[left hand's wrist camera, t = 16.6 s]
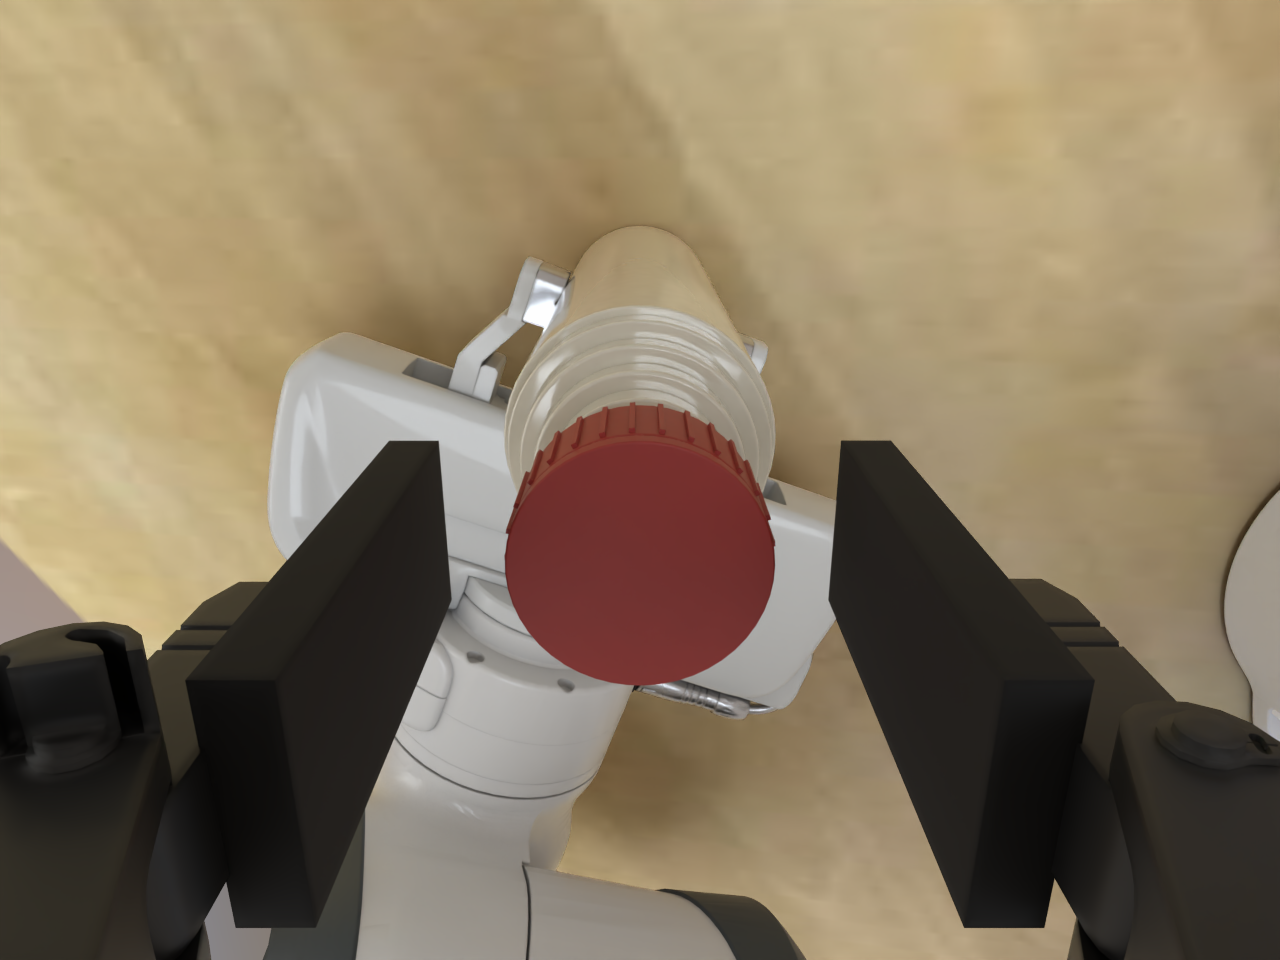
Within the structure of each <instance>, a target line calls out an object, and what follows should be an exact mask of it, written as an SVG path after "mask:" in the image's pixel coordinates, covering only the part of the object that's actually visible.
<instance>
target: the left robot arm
mask: <svg viewBox="0 0 1280 960" xmlns="http://www.w3.org/2000/svg"><path fill="white" fill-rule="evenodd" d="M451 601H452V596H451V584H450V572H449V560H448V547H447V535H446V523H445V511H444V498H443V486H442V474H441V462H440V450H439V441H388V443H387V444H386V445H385V446H384V447H383V448H382V450H381V451H380V452H379V453H378V454H377V455H376V457H375V458H374V459H373V460H372V461H371V463H370V464H369V465H368V466H367V467H366V468H365V470H364V471H363V472H362V473H361V474H360V475H359V477H358V478H357V479H356V480H355V481H354V482H353V484H352V485H351V486H350V487H349V488H348V490H347V491H346V492H345V493H344V494H343V495H342V497H341V498H340V499H339V500H338V501H337V502H336V504H335V505H334V506H333V507H332V508H331V509H330V511H329V512H328V513H327V514H326V515H325V517H324V518H323V519H322V520H321V521H320V522H319V524H318V525H317V526H316V527H315V528H314V529H313V531H312V532H311V533H310V534H309V535H308V536H307V538H306V539H305V540H304V541H303V542H302V544H301V545H300V546H299V547H298V548H297V549H296V551H295V552H294V553H293V554H292V555H291V556H290V558H289V559H288V560H287V561H286V562H285V563H284V565H283V566H282V567H281V568H280V569H279V571H278V572H277V573H276V574H275V575H274V576H273V578H272V579H271V580H270V581H269V582H238V583H237V584H235V585H233V586H231V587H229V588H228V589H226V590H224V591H222V592H220V593H219V594H217V595H215V596H213V597H211V598H210V599H208V600H206V601H204V602H203V603H202V604H201V605H200V606H199V607H198V608H197V609H196V610H195V611H194V612H193V613H192V614H191V615H190V616H189V617H188V618H187V620H186V621H185V622H184V623H183V624H182V625H181V630H176V631H175V632H174V633H173V634H172V635H171V636H170V637H169V638H168V639H167V640H166V641H165V642H164V644H163V645H162V650H157V651H156V652H155V653H154V654H153V655H152V656H151V657H150V658H149V659H148V660H147V658H146V654H145V649H144V644H143V640H142V635H141V634H139V633H138V632H136V631H135V630H133V629H132V628H130V627H129V626H127V625H121V624H115V623H109V622H89V623H72V624H68V625H63V626H58V627H54V628H48V629H44V630H39V631H36V632H33V633H31V634H27V635H25V636H22V637H19V638H16V639H13V640H11V641H8V642H5V643H3V644H1V645H0V960H211V955H210V947H209V940H208V935H207V931H206V926H205V922H204V920H205V918H206V916H207V915H208V913H209V911H210V909H211V907H212V906H213V904H214V902H215V900H216V899H217V897H218V895H219V893H220V891H221V890H222V888H223V886H224V884H225V883H227V888H228V892H229V897H230V902H231V907H232V912H233V917H234V922H235V927H236V928H316V926H317V924H318V921H319V919H320V916H321V914H322V912H323V909H324V907H325V904H326V902H327V900H328V897H329V895H330V892H331V890H332V887H333V885H334V883H335V880H336V878H337V875H338V873H339V871H340V868H341V866H342V863H343V861H344V859H345V856H346V854H347V851H348V849H349V846H350V844H351V842H352V839H353V837H354V834H355V832H356V830H357V827H358V825H359V822H360V820H361V818H362V815H363V813H364V810H365V808H366V806H367V803H368V801H369V798H370V796H371V793H372V791H373V789H374V786H375V784H376V781H377V779H378V777H379V774H380V772H381V769H382V767H383V765H384V762H385V760H386V757H387V755H388V752H389V750H390V748H391V745H392V743H393V740H394V738H395V736H396V733H397V731H398V728H399V726H400V724H401V721H402V719H403V716H404V714H405V712H406V709H407V707H408V704H409V702H410V699H411V697H412V695H413V692H414V690H415V687H416V685H417V683H418V680H419V678H420V675H421V673H422V671H423V668H424V666H425V663H426V661H427V658H428V656H429V654H430V651H431V649H432V646H433V644H434V642H435V639H436V637H437V634H438V632H439V630H440V627H441V625H442V622H443V620H444V617H445V615H446V613H447V610H448V608H449V605H450V603H451ZM828 601H829V603H830V605H831V608H832V610H833V613H834V615H835V617H836V620H837V622H838V625H839V627H840V630H841V632H842V634H843V637H844V639H845V642H846V644H847V646H848V649H849V651H850V654H851V656H852V658H853V661H854V663H855V666H856V668H857V671H858V673H859V675H860V678H861V680H862V683H863V685H864V687H865V690H866V692H867V695H868V697H869V699H870V702H871V704H872V707H873V709H874V712H875V714H876V716H877V719H878V721H879V724H880V726H881V728H882V731H883V733H884V736H885V738H886V740H887V743H888V745H889V748H890V750H891V752H892V755H893V757H894V760H895V762H896V765H897V767H898V769H899V772H900V774H901V777H902V779H903V781H904V784H905V786H906V789H907V791H908V793H909V796H910V798H911V801H912V803H913V806H914V808H915V810H916V813H917V815H918V818H919V820H920V822H921V825H922V827H923V830H924V832H925V834H926V837H927V839H928V842H929V844H930V846H931V849H932V851H933V854H934V856H935V859H936V861H937V863H938V866H939V868H940V871H941V873H942V875H943V878H944V880H945V883H946V885H947V887H948V890H949V892H950V895H951V897H952V900H953V902H954V904H955V907H956V909H957V912H958V914H959V916H960V919H961V921H962V924H963V926H964V928H1044V927H1045V922H1046V917H1047V912H1048V907H1049V902H1050V897H1051V893H1052V888H1053V883H1054V878H1055V880H1056V881H1057V883H1058V885H1059V887H1060V888H1061V890H1062V892H1063V894H1064V895H1065V897H1066V899H1067V901H1068V903H1069V904H1070V906H1071V908H1072V910H1073V911H1074V913H1075V915H1076V922H1075V926H1074V931H1073V935H1072V940H1071V945H1070V949H1069V954H1068V958H1067V960H1280V741H1278V740H1277V739H1275V738H1273V737H1272V736H1270V735H1269V734H1267V733H1266V732H1264V731H1263V730H1261V729H1260V728H1258V727H1257V726H1255V725H1254V724H1252V723H1249V722H1247V721H1245V720H1242V719H1240V718H1237V717H1235V716H1233V715H1230V714H1228V713H1226V712H1223V711H1221V710H1217V709H1213V708H1209V707H1205V706H1201V705H1197V704H1193V703H1189V702H1176V700H1175V699H1174V698H1173V697H1172V696H1171V695H1170V694H1169V693H1168V692H1167V691H1166V690H1165V689H1164V688H1163V687H1162V686H1161V685H1160V684H1159V683H1158V682H1157V681H1156V680H1155V679H1154V678H1153V677H1152V676H1151V675H1150V674H1149V673H1148V671H1147V670H1146V669H1145V668H1144V667H1143V666H1142V665H1141V664H1140V663H1139V662H1138V661H1137V660H1136V659H1135V658H1134V657H1133V656H1132V655H1131V654H1130V653H1129V652H1128V651H1127V650H1126V649H1125V648H1124V647H1119V641H1118V640H1117V639H1116V638H1115V637H1114V636H1113V635H1112V634H1111V633H1110V632H1109V631H1108V630H1107V629H1106V628H1105V627H1100V622H1099V621H1098V620H1097V619H1096V618H1095V617H1094V616H1093V615H1092V614H1091V613H1090V611H1089V610H1088V609H1087V608H1086V607H1085V606H1084V605H1083V604H1082V603H1081V602H1080V601H1079V600H1078V599H1077V598H1075V597H1073V596H1071V595H1069V594H1068V593H1066V592H1064V591H1062V590H1060V589H1059V588H1057V587H1055V586H1053V585H1051V584H1049V583H1048V582H1046V581H1044V580H1042V579H1008V578H1007V576H1006V575H1005V574H1004V573H1003V572H1002V571H1001V569H1000V568H999V567H998V566H997V565H996V563H995V562H994V561H993V560H992V559H991V558H990V556H989V555H988V554H987V553H986V552H985V551H984V549H983V548H982V547H981V546H980V545H979V544H978V542H977V541H976V540H975V539H974V538H973V536H972V535H971V534H970V533H969V532H968V531H967V529H966V528H965V527H964V526H963V525H962V524H961V522H960V521H959V520H958V519H957V518H956V517H955V515H954V514H953V513H952V512H951V511H950V509H949V508H948V507H947V506H946V505H945V504H944V502H943V501H942V500H941V499H940V498H939V497H938V495H937V494H936V493H935V492H934V491H933V490H932V488H931V487H930V486H929V485H928V484H927V482H926V481H925V480H924V479H923V478H922V477H921V475H920V474H919V473H918V472H917V471H916V470H915V468H914V467H913V466H912V465H911V464H910V463H909V461H908V460H907V459H906V458H905V457H904V455H903V454H902V453H901V452H900V451H899V450H898V448H897V447H896V446H895V445H894V444H893V443H892V441H841V450H840V462H839V474H838V486H837V498H836V511H835V523H834V535H833V547H832V560H831V572H830V584H829V596H828Z"/></svg>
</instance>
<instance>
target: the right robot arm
mask: <svg viewBox="0 0 1280 960" xmlns="http://www.w3.org/2000/svg"><path fill="white" fill-rule="evenodd" d="M570 275H571V271H568V270H565V269H563V268H560V267H558V266H555V265H553V264H550V263H547V262H545V261H544V262H543V260H540V259H537V258H534V257H531V256H529V257H528V258H527V259H526V260H525V262H524V265H523V267H522V270H521V272H520V275H519V278H518V281H517V285H516V288H515V291H514V294H513V297H512V301H511V304H510V306H509V307H508V308H507V309H506V310H504V311H503V312H502V313H501V314H500V315H499V316H498V317H497V318H495V319H494V320H493V321H492V322H491V323H490V324H489V325H488V326H486V327H485V328H484V329H483V330H482V331H481V332H480V333H479V334H477V335H476V336H475V337H474V338H473V339H472V340H471V341H470V342H469V343H468V344H467V345H466V346H465V347H464V348H463V350H462V351H461V352H460V353H459V354H458V357H457V360H456V363H455V367H454V368H453V367H450V366H447V365H444V364H441V363H438V362H436V361H433V360H430V359H427V358H424V357H421V356H418V355H415V354H412V353H410V352H407V351H404V350H401V349H398V348H395V347H392V346H389V345H386V344H383V343H381V342H378V341H375V340H372V339H369V338H366V337H364V336H361V335H358V334H355V333H351V332H341V333H338V334H336V335H334V336H332V337H330V338H327V339H325V340H323V341H321V342H319V343H317V344H315V345H314V346H312V347H310V348H309V349H308V350H306V351H305V352H304V353H302V354H301V355H300V356H298V358H297V359H296V360H295V361H294V362H293V363H292V364H291V366H290V367H289V369H288V371H287V374H286V376H285V379H284V382H283V386H282V391H281V395H280V399H279V404H278V410H277V415H276V421H275V427H274V434H273V441H272V449H271V458H270V468H269V482H268V499H267V511H268V521H269V527H270V531H271V534H272V537H273V540H274V542H275V544H276V546H277V548H278V550H279V551H280V553H281V554H282V555H283V557H284V558H285V559H286V560H288V559H289V558H290V556H291V555H292V554H293V553H294V552H295V551H296V549H297V548H298V547H299V546H300V545H301V544H302V542H303V541H304V540H305V539H306V538H307V536H308V535H309V534H310V533H311V532H312V531H313V529H314V528H315V527H316V526H317V525H318V524H319V522H320V521H321V520H322V519H323V518H324V517H325V515H326V514H327V513H328V512H329V511H330V509H331V508H332V507H333V506H334V505H335V504H336V502H337V501H338V500H339V499H340V498H341V497H342V495H343V494H344V493H345V492H346V491H347V490H348V488H349V487H350V486H351V485H352V484H353V482H354V481H355V480H356V479H357V478H358V477H359V475H360V474H361V473H362V472H363V471H364V470H365V468H366V467H367V466H368V465H369V464H370V463H371V461H372V460H373V459H374V458H375V457H376V455H377V454H378V453H379V452H380V451H381V450H382V448H383V447H384V446H385V445H386V444H387V443H388V441H439V450H440V462H441V474H442V486H443V498H444V511H445V523H446V535H447V547H448V560H449V572H450V584H451V596H452V601H451V603H450V605H449V608H448V610H447V613H446V615H445V617H444V620H443V622H442V625H441V627H440V630H439V632H438V634H437V637H436V639H435V642H434V644H433V646H432V649H431V651H430V654H429V656H428V658H427V661H426V663H425V666H424V668H423V671H422V673H421V675H420V678H419V680H418V683H417V685H416V687H415V690H414V692H413V695H412V697H411V699H410V702H409V704H408V707H407V709H406V712H405V714H404V716H403V719H402V721H401V724H400V726H399V728H398V731H397V733H396V736H395V738H394V740H393V743H392V745H391V748H390V750H389V752H388V755H387V757H386V760H385V762H384V765H383V767H382V769H381V772H380V774H379V777H378V779H377V781H376V784H375V786H374V789H373V791H372V793H371V796H370V798H369V801H368V803H367V806H366V808H365V810H364V813H363V815H362V818H361V820H360V822H359V825H358V827H357V830H356V832H355V834H354V837H353V839H352V842H351V844H350V846H349V849H348V851H347V854H346V856H345V859H344V861H343V863H342V866H341V868H340V871H339V873H338V875H337V878H336V880H335V883H334V885H333V887H332V890H331V892H330V895H329V897H328V900H327V902H326V904H325V907H324V909H323V912H322V914H321V916H320V919H319V921H318V924H317V926H316V928H271V934H270V939H269V945H268V948H267V950H266V953H265V955H264V958H263V960H806V958H805V957H804V955H803V954H802V952H801V951H800V949H799V948H798V946H797V945H796V944H795V942H794V941H793V939H792V938H791V937H790V935H789V934H788V932H787V931H786V930H785V929H784V927H783V926H782V925H781V924H780V922H779V921H778V920H777V919H776V918H775V916H774V915H773V914H772V913H771V912H770V911H769V910H768V909H767V908H766V907H765V906H764V905H762V904H761V903H760V902H758V901H756V900H754V899H752V898H749V897H745V896H736V895H725V894H714V893H703V892H693V891H682V890H672V889H660V890H651V889H646V888H640V887H635V886H630V885H625V884H620V883H614V882H609V881H604V880H599V879H594V878H589V877H583V876H578V875H573V874H568V873H563V872H557V871H556V870H557V868H558V866H559V864H560V862H561V859H562V857H563V855H564V852H565V849H566V846H567V843H568V840H569V836H570V831H571V820H572V808H573V805H574V802H575V801H576V799H577V798H578V797H579V796H580V795H581V794H582V793H583V792H584V790H585V789H586V788H587V787H588V786H589V784H590V783H591V782H592V780H593V779H594V777H595V776H596V774H597V772H598V770H599V768H600V766H601V764H602V761H603V759H604V757H605V754H606V752H607V749H608V747H609V744H610V742H611V740H612V737H613V735H614V733H615V730H616V728H617V725H618V723H619V721H620V718H621V716H622V714H623V712H624V710H625V707H626V705H627V702H628V699H629V697H630V694H631V692H633V691H634V690H636V691H640V692H643V693H646V694H649V695H652V696H656V697H659V698H662V699H665V700H669V701H673V702H677V703H683V704H689V705H694V706H697V707H701V708H704V709H707V710H710V712H711V713H713V714H715V715H717V716H720V717H724V718H727V719H733V720H744V719H745V718H746V717H747V715H748V714H755V715H759V714H766V713H770V712H773V711H776V710H778V709H783V708H785V707H787V706H788V705H789V704H790V703H791V702H792V701H793V699H794V698H795V697H796V695H797V693H798V691H799V689H800V687H801V685H802V683H803V681H804V679H805V677H806V675H807V673H808V671H809V668H810V666H811V662H812V658H813V652H814V650H815V649H816V647H817V646H818V645H819V643H820V642H821V641H822V639H823V638H824V636H825V635H826V634H827V632H828V631H829V629H830V628H831V626H832V625H833V623H834V622H835V620H836V617H835V615H834V613H833V610H832V608H831V605H830V603H829V601H828V596H829V584H830V572H831V560H832V547H833V535H834V523H835V511H836V500H833V499H831V498H828V497H825V496H822V495H819V494H816V493H814V492H811V491H808V490H805V489H802V488H799V487H796V486H793V485H790V484H788V483H785V482H782V481H779V480H776V479H773V478H770V477H768V479H767V482H766V485H765V488H764V491H763V493H762V494H763V497H764V500H765V503H766V506H767V508H768V511H769V514H770V517H771V520H769V521H768V522H769V525H770V528H771V531H772V534H773V536H774V539H775V545H776V546H774V551H775V573H774V582H773V586H772V590H771V595H770V598H769V600H768V603H767V605H766V608H765V611H764V613H763V614H762V616H761V618H760V620H759V621H758V623H757V625H756V626H755V628H754V629H753V630H752V632H751V633H750V634H749V636H748V637H747V638H746V639H745V640H744V641H743V642H742V643H741V644H740V646H739V647H738V648H737V649H736V650H735V651H733V652H732V653H731V654H729V655H728V656H727V657H726V658H724V659H723V660H722V661H720V662H719V663H717V664H715V665H714V666H712V667H710V668H709V669H707V670H704V671H702V672H700V673H698V674H696V675H694V676H691V677H688V678H684V679H681V680H678V681H674V682H669V683H664V684H656V685H645V686H643V685H623V684H616V683H610V682H606V681H602V680H598V679H595V678H592V677H589V676H587V675H584V674H582V673H579V672H577V671H575V670H573V669H572V668H570V667H568V666H566V665H564V664H563V663H561V662H560V661H558V660H557V659H556V658H554V657H553V656H551V655H550V654H549V653H548V652H547V651H546V650H545V649H543V648H542V647H541V646H540V645H539V644H538V643H537V642H536V640H535V639H534V638H533V637H532V636H531V635H530V634H529V632H528V631H527V629H526V628H525V626H524V625H523V623H522V622H521V620H520V619H519V617H518V615H517V612H516V610H515V608H514V606H513V604H512V601H511V598H510V595H509V591H508V588H507V582H506V576H505V560H504V555H505V551H506V543H507V538H508V535H509V534H506V528H507V525H508V523H509V520H510V517H511V514H512V511H513V508H514V507H513V506H514V503H515V500H516V497H517V492H516V489H515V486H514V483H513V480H512V477H511V474H510V471H509V468H508V465H507V459H506V454H505V447H504V425H505V415H506V410H507V406H508V402H509V398H510V395H511V393H512V390H513V388H511V387H508V386H505V385H502V384H499V383H500V380H501V377H502V373H503V370H504V367H505V363H506V360H507V358H506V356H505V355H504V354H502V353H499V352H496V351H495V350H496V349H498V348H499V347H500V346H501V345H502V344H503V343H504V342H505V341H507V340H508V339H509V338H510V337H511V336H512V335H513V334H514V333H515V332H517V331H518V330H519V329H520V328H521V327H522V326H523V325H524V324H526V322H528V323H531V324H534V325H537V326H540V327H543V328H544V327H545V325H546V323H547V321H548V320H549V318H550V316H551V314H552V312H553V310H554V308H555V306H556V304H557V302H558V301H559V299H560V297H561V295H562V293H563V291H564V289H565V287H566V285H567V284H568V281H569V278H570ZM738 334H739V336H740V338H741V340H742V342H743V344H744V346H745V347H746V349H747V351H748V353H749V355H750V357H751V359H752V361H753V363H754V364H755V366H756V368H757V370H758V372H759V374H760V373H761V371H762V369H763V366H764V364H765V361H766V358H767V354H768V347H767V345H766V344H765V342H764V341H761V340H758V339H755V338H752V337H750V336H747V335H744V334H741V333H738ZM494 351H495V352H494ZM1224 620H1225V627H1226V633H1227V637H1228V640H1229V644H1230V646H1231V649H1232V652H1233V654H1234V656H1235V658H1236V660H1237V661H1238V663H1239V665H1240V667H1241V668H1242V670H1243V672H1244V673H1245V675H1246V677H1247V679H1248V681H1249V683H1250V685H1251V688H1252V691H1253V702H1252V717H1253V724H1254V725H1255V726H1257V727H1258V728H1260V729H1261V730H1263V731H1264V732H1266V733H1267V734H1269V735H1270V736H1272V737H1273V738H1275V739H1277V740H1278V741H1280V490H1279V491H1278V492H1277V493H1276V494H1275V495H1274V496H1273V497H1272V498H1271V500H1270V501H1269V502H1268V503H1267V504H1266V505H1265V507H1264V508H1263V509H1262V511H1261V512H1260V513H1259V514H1258V516H1257V517H1256V519H1255V520H1254V522H1253V523H1252V525H1251V526H1250V528H1249V530H1248V531H1247V533H1246V534H1245V536H1244V538H1243V540H1242V542H1241V544H1240V546H1239V548H1238V550H1237V553H1236V555H1235V557H1234V560H1233V563H1232V566H1231V569H1230V572H1229V576H1228V580H1227V585H1226V590H1225V599H1224ZM751 701H753V702H756V703H760V704H751Z"/></svg>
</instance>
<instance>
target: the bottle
mask: <svg viewBox="0 0 1280 960" xmlns="http://www.w3.org/2000/svg"><path fill="white" fill-rule="evenodd" d="M630 402H635V404H636V405H645V406H658V403H659V404H663V406H664V408H669V409H672V410H676V411H679V412H683V413H684V411H685V410H686V411H689V412H690V414H691V416H692V417H694V418H697V419H699V420H701V421H702V422H704V423H705V424H707V425H708V424H709V423H712V424H713V425H714V427H715V430H716V431H717V432H718V433H720V434H721V435H722V436H723V437H725V438H726V440H727V441H729V440H730V439H732V440H733V442H734V443H735V446H736V449H737V452H738V453H739V455H740V456H741V458H742V459H743V460H744V461H745V460H748V461H749V463H750V466H751V468H752V471H753V474H754V477H755V480H756V483H759V486H760V489H761V492H762V493H763V491H764V488H765V485H766V482H767V479H768V476H769V473H770V470H771V467H772V462H773V457H774V452H775V438H776V431H775V417H774V413H773V408H772V403H771V399H770V397H769V394H768V391H767V388H766V386H765V383H764V381H763V380H762V378H761V376H760V374H759V372H758V370H757V368H756V366H755V364H754V363H753V361H752V359H751V357H750V355H749V353H748V351H747V349H746V347H745V346H744V344H743V342H742V340H741V338H740V336H739V334H738V332H737V330H736V329H735V327H734V325H733V323H732V321H731V319H730V317H729V315H728V313H727V311H726V310H725V308H724V306H723V304H722V302H721V300H720V298H719V296H718V294H717V293H716V291H715V289H714V287H713V285H712V283H711V281H710V279H709V277H708V276H707V274H706V272H705V270H704V268H703V266H702V264H701V262H700V260H699V259H698V257H697V256H696V254H695V253H694V252H693V250H692V249H691V248H690V247H689V246H688V245H687V244H686V243H685V242H683V241H682V240H681V239H680V238H678V237H676V236H675V235H673V234H672V233H669V232H667V231H665V230H662V229H659V228H655V227H649V226H630V227H624V228H620V229H617V230H615V231H612V232H610V233H608V234H606V235H604V236H603V237H601V238H600V239H598V240H597V241H596V242H595V243H593V244H592V245H591V246H590V247H589V248H588V249H587V251H586V252H585V253H584V255H583V256H582V257H581V259H580V261H579V263H578V264H577V266H576V268H575V270H574V272H573V274H572V276H571V278H570V280H569V282H568V284H567V285H566V287H565V289H564V291H563V293H562V295H561V297H560V299H559V301H558V302H557V304H556V306H555V308H554V310H553V312H552V314H551V316H550V318H549V320H548V321H547V323H546V325H545V327H544V329H543V331H542V333H541V335H540V337H539V339H538V340H537V342H536V344H535V346H534V348H533V350H532V352H531V354H530V356H529V358H528V359H527V361H526V363H525V365H524V367H523V369H522V371H521V373H520V375H519V377H518V378H517V380H516V382H515V385H514V387H513V390H512V393H511V395H510V398H509V402H508V406H507V410H506V415H505V425H504V447H505V454H506V459H507V465H508V468H509V471H510V474H511V477H512V480H513V483H514V486H515V489H516V492H517V494H518V492H519V489H520V486H521V483H522V480H523V477H524V475H525V472H526V471H527V472H530V471H531V469H532V466H533V463H534V460H535V457H536V454H537V452H538V451H539V449H540V450H542V451H543V450H544V449H545V448H546V447H547V446H548V444H549V443H550V442H551V441H552V440H553V437H554V434H555V433H556V432H557V431H558V430H559V431H560V432H562V431H564V430H565V429H567V428H568V427H570V426H571V425H572V424H574V423H576V420H577V418H578V417H580V416H582V417H583V418H585V417H587V416H589V415H592V414H595V413H598V412H600V411H602V408H603V407H606V406H608V409H612V408H616V407H622V406H630Z"/></svg>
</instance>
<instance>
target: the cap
mask: <svg viewBox="0 0 1280 960" xmlns="http://www.w3.org/2000/svg"><path fill="white" fill-rule="evenodd" d="M513 507H514V508H513V511H512V514H511V517H510V520H509V523H508V525H507V528H506V534H509V535H508V538H507V543H506V551H505V555H504V560H505V576H506V582H507V588H508V591H509V595H510V598H511V601H512V604H513V606H514V608H515V610H516V612H517V615H518V617H519V619H520V620H521V622H522V623H523V625H524V626H525V628H526V629H527V631H528V632H529V634H530V635H531V636H532V637H533V638H534V639H535V640H536V642H537V643H538V644H539V645H540V646H541V647H542V648H543V649H545V650H546V651H547V652H548V653H549V654H550V655H551V656H553V657H554V658H556V659H557V660H558V661H560V662H561V663H563V664H564V665H566V666H568V667H570V668H572V669H573V670H575V671H577V672H579V673H582V674H584V675H587V676H589V677H592V678H595V679H598V680H602V681H606V682H610V683H616V684H623V685H643V686H645V685H656V684H664V683H669V682H674V681H678V680H681V679H684V678H688V677H691V676H694V675H696V674H698V673H700V672H702V671H704V670H707V669H709V668H710V667H712V666H714V665H715V664H717V663H719V662H720V661H722V660H723V659H724V658H726V657H727V656H728V655H729V654H731V653H732V652H733V651H735V650H736V649H737V648H738V647H739V646H740V644H741V643H742V642H743V641H744V640H745V639H746V638H747V637H748V636H749V634H750V633H751V632H752V630H753V629H754V628H755V626H756V625H757V623H758V621H759V620H760V618H761V616H762V614H763V613H764V611H765V608H766V605H767V603H768V600H769V598H770V595H771V590H772V586H773V582H774V573H775V551H774V546H776V545H775V539H774V536H773V534H772V531H771V528H770V525H769V522H768V521H769V520H771V517H770V514H769V511H768V508H767V506H766V503H765V500H764V497H763V494H762V492H761V489H760V486H759V483H756V480H755V477H754V474H753V471H752V468H751V466H750V463H749V461H748V460H745V461H744V460H743V459H742V458H741V456H740V455H739V453H738V452H737V449H736V446H735V443H734V442H733V440H732V439H730V440H729V441H727V440H726V438H725V437H723V436H722V435H721V434H720V433H718V432H717V431H716V430H715V427H714V425H713V424H712V423H709V424H708V425H707V424H705V423H704V422H702V421H701V420H699V419H697V418H694V417H692V416H691V414H690V412H689V411H686V410H685V411H684V413H683V412H679V411H676V410H672V409H669V408H664V406H663V404H659V403H658V406H645V405H636V404H635V402H630V406H622V407H616V408H612V409H608V406H606V407H603V408H602V411H600V412H598V413H595V414H592V415H589V416H587V417H585V418H583V417H582V416H580V417H578V418H577V420H576V423H574V424H572V425H571V426H570V427H568V428H567V429H565V430H564V431H562V432H560V431H559V430H558V431H557V432H556V433H555V434H554V437H553V440H552V441H551V442H550V443H549V444H548V446H547V447H546V448H545V449H544V450H543V451H542V450H540V449H539V451H538V452H537V454H536V457H535V460H534V463H533V466H532V469H531V471H530V472H527V471H526V472H525V475H524V477H523V480H522V483H521V486H520V489H519V492H518V494H517V497H516V500H515V503H514V506H513Z"/></svg>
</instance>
